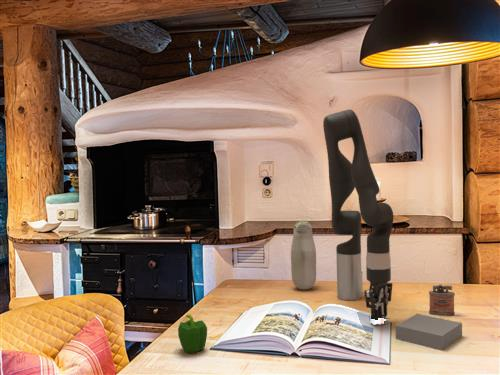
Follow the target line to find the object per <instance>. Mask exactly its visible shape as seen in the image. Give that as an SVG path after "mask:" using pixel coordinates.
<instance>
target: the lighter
mask: <svg viewBox="0 0 500 375" xmlns="http://www.w3.org/2000/svg"><path fill="white" fill-rule="evenodd" d="M428 295H429V310H428V314H429V315H432V316H440V317H454V316H455V315H456V314H455V313H456V312H455V296H456V295H455V292H453V286H452V285H449V284H448V285H442V283H439V284H437V285H436V284H435V285H433V284H432V290H429V291H428Z"/></svg>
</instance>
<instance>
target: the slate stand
mask: <svg viewBox="0 0 500 375" xmlns="http://www.w3.org/2000/svg"><path fill="white" fill-rule="evenodd" d="M462 337H463V323H462V322H461V321H460V322H458V321H454V320H450V319H444V318H441V317H436V316H435V317H434V316H430V315H425V314H422V313H416V314H414V315H412V316H410V317H408V318H407V319H404V320H403V321H401V322H400V323H397V324H395V339H396V340H399V341H404V342H407V343H411V344H416V345H420V346H424V347H428V348H432V349H436V350H440V351H443V350H445V349H446V348H448V347H450V345H453V343H454V342H456V341H457V340H459V339H461V338H462Z"/></svg>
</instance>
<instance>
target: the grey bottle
mask: <svg viewBox="0 0 500 375" xmlns="http://www.w3.org/2000/svg"><path fill="white" fill-rule="evenodd" d="M290 267H291V268H290V269H291V270H290V271H291V280H292V283H293V285H294V286H295V287H296V288H297V289H299V290H303V291H304V290H310V289H311V288H312V287H314V286H315V284H316V281H317V250H316V244H315V240H314V234H313V228H312V225H311V223H310V222H309V221H306V220H301V221H300V220H299V221H297V222H296V223H295V224H294V226H293V234H292V241H291V248H290Z"/></svg>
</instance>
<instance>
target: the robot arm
mask: <svg viewBox="0 0 500 375" xmlns="http://www.w3.org/2000/svg"><path fill="white" fill-rule="evenodd" d="M323 133H324V140H325V145H326V151H327V152H326V153H327V162H328V163H327V164H328V180H329V191H330V198H331V227H332V231H333V233H334V234H335V235H339V236H352V237H351V238H349V240H347V241H344V242H341V243H339V244H337V245H336V248H335V249H336V250H335V251H336V254H335V255H336V295H337V298H338V299H340V300H344V301H358V300H361V299H362V298H363V294H364V300H365V306H366V308H367V309H370V315H371V319H375V320H378V305H379V302H381V296H382V294H383V297H384V295H385V296H386V301H385V302H383V311H384V315H385V316H386V317H387V316H388V305H389V302H391V301H392V294H393V284H394V283H393V282H391V279H392V278H391V277H392V274H391V273H392V272H391V271H392V269H391V268H392V266H391V264H392V263H391V262H392V261H391V254H390V252H391V251H390V239H391V238H390V237H391V235H392V234H391V233H392V230H393V224H394V211H393V208H392V207H391V206H390V205H389V204H388V203H386V202H378V199H377V196H378V194H379V193H380V186H379V184H378V181H377V179H376V176H375V174H374V171H373V169H372V167H371V166H372V165H371V163H370V158H369V155H368V151H367V145H366V142H365V138H364V134H363V130H362V127H361V122H360V120H359V118H358V116H357V114H356V113H355V111H354V110H353V109H346V110H342V111H341V110H340V111H338V112H334V113H331V114H328V115H326V116H325V117H324V118H323ZM348 139H351V140H352V143H353V157H352V162H351V161H350V160H349V159H348V158H347V157H346V156H345V155H344V154H343V153H342V151H341V150H340V148H339V142H341V141H344V140H348ZM354 190H355V191H356V193H357V195H358V206H359V210H360V211H359V210H342V207H343V205H344V204H345V202H346V201H347V200H348V198H350V197H351V195H352V194H353V192H354ZM362 221H363V222H364V223H365V225H367V226H369V227H372V229H371V230H372V231H371V232H370V233H369V234H368V235H367V236H366V256H365V257H366V258H365V259H366V260H365V264H366V265H365V267H366V268H365V269H366V271H365V272H366V275H365V276H366V280H367V281H368V282H369V287H368V288H369V289H368V290H366V289H365V290H364V291H363V288H364V287H363V271H362V247H361V246H362V238H361V236H362ZM374 298H378V299H374ZM374 301H375V302H376V304H375V302H374ZM380 305H381V304H380Z"/></svg>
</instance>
